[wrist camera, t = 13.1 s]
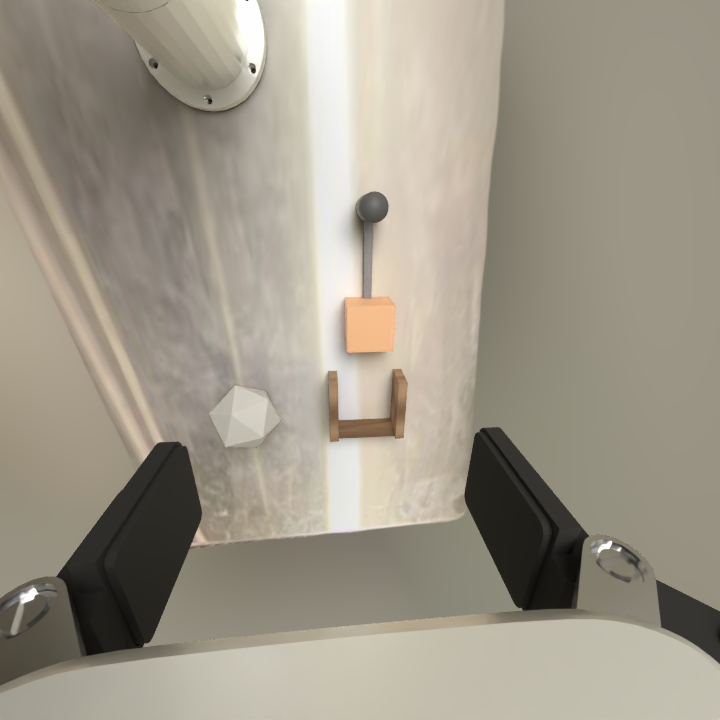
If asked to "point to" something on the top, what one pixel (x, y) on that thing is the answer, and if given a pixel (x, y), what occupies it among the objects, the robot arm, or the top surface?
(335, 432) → the shelf lane
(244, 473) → the top surface
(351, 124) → the top surface
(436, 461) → the top surface
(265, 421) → the die
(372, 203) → the block
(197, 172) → the top surface
